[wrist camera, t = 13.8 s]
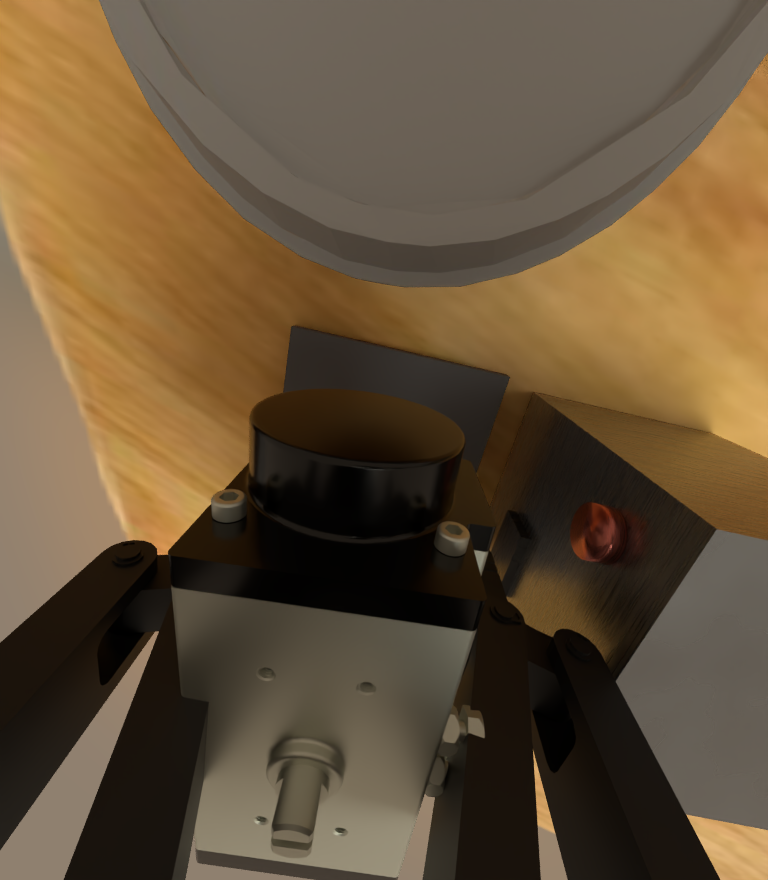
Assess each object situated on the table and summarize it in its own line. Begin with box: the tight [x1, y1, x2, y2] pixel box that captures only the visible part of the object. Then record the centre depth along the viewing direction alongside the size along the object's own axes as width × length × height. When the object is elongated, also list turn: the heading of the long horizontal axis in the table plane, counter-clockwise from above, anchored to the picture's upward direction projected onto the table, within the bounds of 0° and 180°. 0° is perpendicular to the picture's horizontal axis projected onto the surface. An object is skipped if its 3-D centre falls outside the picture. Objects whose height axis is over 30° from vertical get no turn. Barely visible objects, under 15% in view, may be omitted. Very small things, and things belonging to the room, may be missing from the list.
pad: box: [283, 326, 510, 473], centre depth 19 cm, size 10×10×1 cm
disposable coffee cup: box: [99, 0, 768, 287], centre depth 9 cm, size 10×10×12 cm
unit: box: [489, 392, 768, 830], centre depth 14 cm, size 9×10×11 cm
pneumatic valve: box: [168, 389, 497, 880], centre depth 11 cm, size 6×12×12 cm, turn 172°
